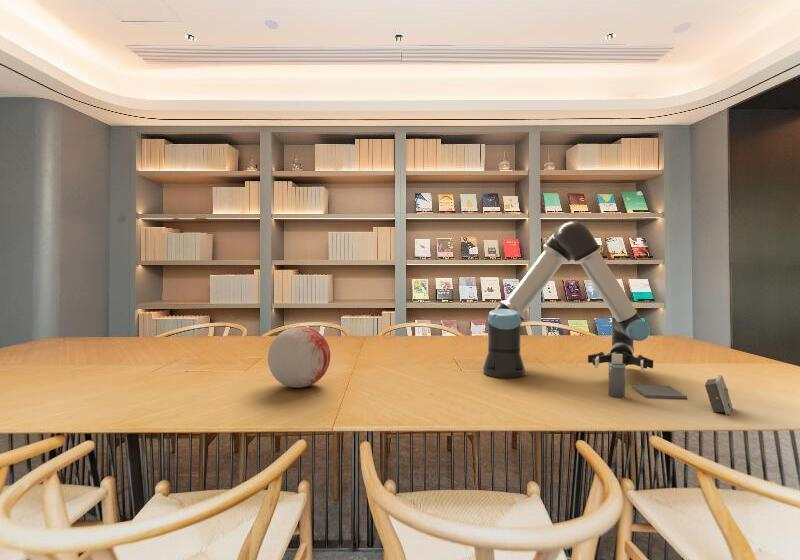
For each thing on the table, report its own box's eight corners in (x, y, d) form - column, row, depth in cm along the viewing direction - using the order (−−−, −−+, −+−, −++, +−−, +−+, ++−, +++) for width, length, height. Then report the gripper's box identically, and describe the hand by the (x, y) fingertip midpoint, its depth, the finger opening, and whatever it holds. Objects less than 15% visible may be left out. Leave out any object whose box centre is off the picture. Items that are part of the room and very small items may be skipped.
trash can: (607, 396, 145) (608, 354, 144) (608, 392, 149) (609, 352, 149) (624, 398, 143) (625, 356, 142) (625, 394, 147) (626, 353, 146)
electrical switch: (729, 416, 127) (726, 381, 127) (707, 414, 130) (704, 380, 130) (732, 407, 134) (729, 375, 134) (710, 406, 137) (707, 374, 137)
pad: (644, 397, 144) (645, 394, 144) (630, 387, 156) (631, 384, 156) (687, 399, 142) (687, 396, 142) (669, 388, 154) (669, 386, 154)
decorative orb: (301, 376, 170) (301, 321, 170) (342, 384, 159) (342, 325, 158) (253, 389, 153) (252, 328, 152) (295, 399, 142) (295, 333, 141)
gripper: (659, 367, 167) (661, 381, 149) (585, 361, 179) (578, 373, 160) (660, 346, 167) (662, 357, 148) (585, 341, 179) (578, 351, 160)
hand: (618, 365), depth 154 cm, fingers open, 13 cm apart
